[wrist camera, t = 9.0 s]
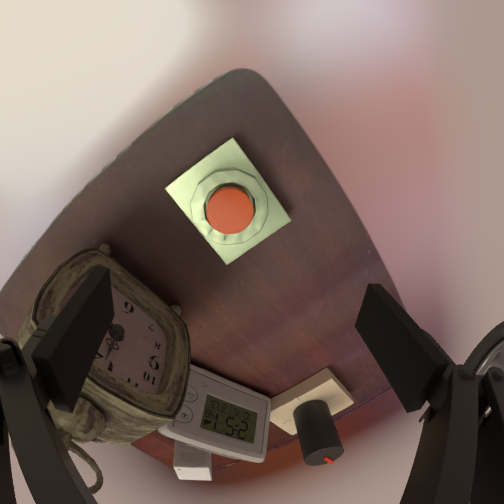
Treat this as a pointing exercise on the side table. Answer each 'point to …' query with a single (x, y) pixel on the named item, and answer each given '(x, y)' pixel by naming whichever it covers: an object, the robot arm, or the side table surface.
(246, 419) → the digital clock
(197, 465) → the product box
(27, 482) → the robot arm
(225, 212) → the push button
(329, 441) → the dial
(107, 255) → the tabletop clock
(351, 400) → the dial panel
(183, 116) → the side table surface
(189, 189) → the button block
